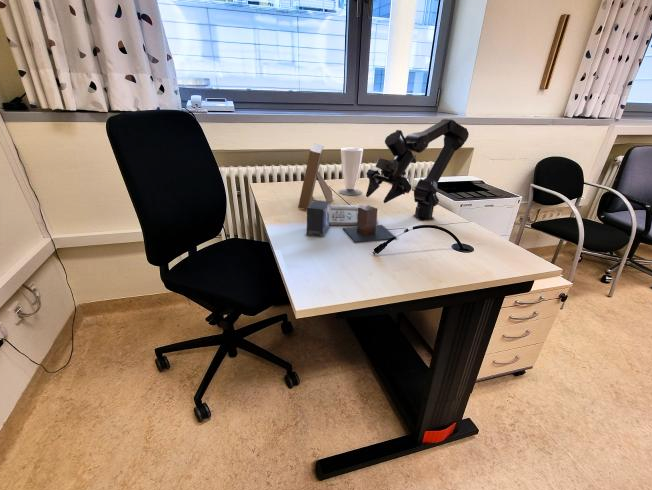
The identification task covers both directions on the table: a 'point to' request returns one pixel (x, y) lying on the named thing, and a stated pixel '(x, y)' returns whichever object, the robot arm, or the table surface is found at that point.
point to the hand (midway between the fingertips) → (375, 199)
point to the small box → (317, 218)
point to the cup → (351, 168)
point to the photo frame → (313, 178)
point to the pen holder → (366, 220)
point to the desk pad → (378, 235)
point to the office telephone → (343, 215)
